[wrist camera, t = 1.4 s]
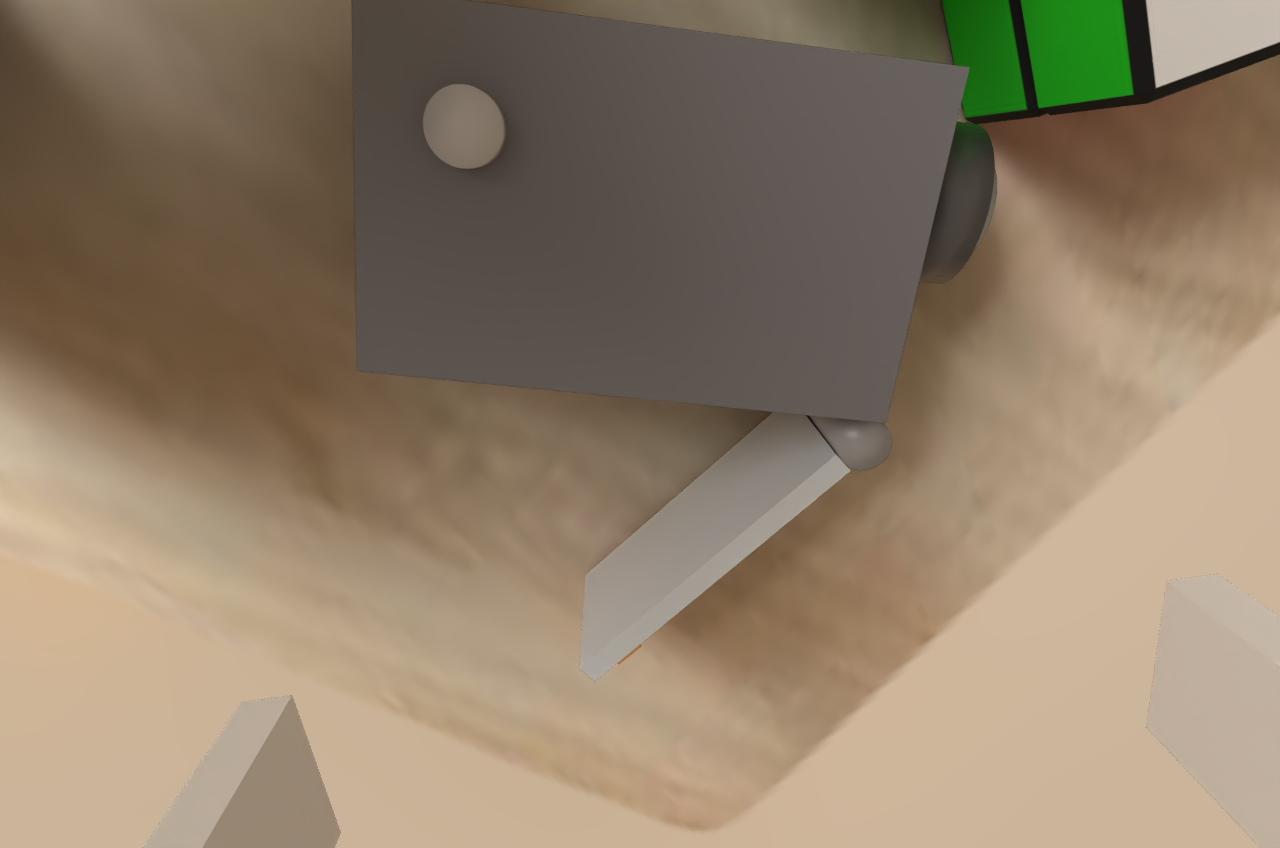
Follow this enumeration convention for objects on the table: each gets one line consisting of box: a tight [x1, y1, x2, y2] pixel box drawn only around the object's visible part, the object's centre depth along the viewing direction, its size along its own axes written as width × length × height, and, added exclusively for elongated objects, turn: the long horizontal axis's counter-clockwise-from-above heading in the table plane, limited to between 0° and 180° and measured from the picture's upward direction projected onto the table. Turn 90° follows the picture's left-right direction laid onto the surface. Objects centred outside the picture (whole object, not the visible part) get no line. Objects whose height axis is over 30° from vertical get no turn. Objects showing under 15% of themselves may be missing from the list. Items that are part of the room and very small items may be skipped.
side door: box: [579, 412, 892, 682], centre depth 29 cm, size 14×2×6 cm, turn 134°
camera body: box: [352, 0, 997, 423], centre depth 24 cm, size 19×10×9 cm, turn 84°
